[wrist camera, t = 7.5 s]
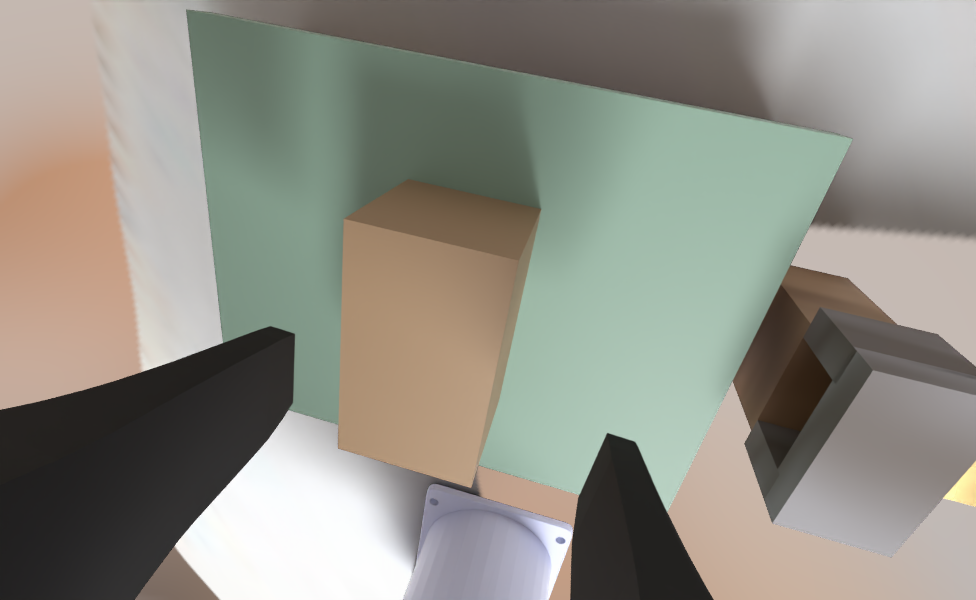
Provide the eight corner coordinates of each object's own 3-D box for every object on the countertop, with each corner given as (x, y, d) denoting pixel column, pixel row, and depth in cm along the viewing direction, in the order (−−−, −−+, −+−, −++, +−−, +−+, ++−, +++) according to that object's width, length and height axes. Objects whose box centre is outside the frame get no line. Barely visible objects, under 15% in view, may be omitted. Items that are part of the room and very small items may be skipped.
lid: (660, 489, 19) (676, 631, 15) (250, 373, 21) (148, 463, 17) (829, 130, 13) (957, 175, 8) (220, 13, 15) (40, -7, 10)
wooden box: (750, 449, 22) (818, 640, 15) (302, 328, 24) (175, 441, 17) (919, 152, 16) (1176, 231, 9) (296, 31, 18) (96, 16, 11)
